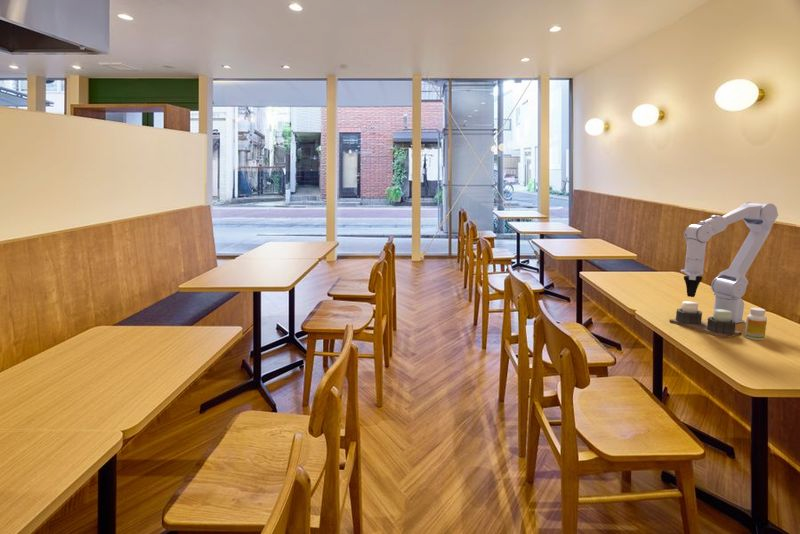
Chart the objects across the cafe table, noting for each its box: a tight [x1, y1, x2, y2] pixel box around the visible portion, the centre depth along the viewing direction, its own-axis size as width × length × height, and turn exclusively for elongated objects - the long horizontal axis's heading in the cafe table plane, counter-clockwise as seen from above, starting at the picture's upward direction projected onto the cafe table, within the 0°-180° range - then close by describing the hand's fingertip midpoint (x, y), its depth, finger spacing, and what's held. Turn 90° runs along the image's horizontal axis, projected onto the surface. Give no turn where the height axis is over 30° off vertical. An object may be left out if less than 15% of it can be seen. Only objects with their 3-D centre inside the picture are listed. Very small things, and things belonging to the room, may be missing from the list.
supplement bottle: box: [744, 307, 768, 341], centre depth 165 cm, size 5×5×10 cm
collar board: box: [669, 307, 742, 339], centre depth 177 cm, size 9×20×4 cm, turn 23°
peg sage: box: [712, 309, 732, 322], centre depth 171 cm, size 5×5×4 cm
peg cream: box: [681, 300, 699, 313], centre depth 181 cm, size 5×5×4 cm
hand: (690, 296), depth 181 cm, fingers closed
